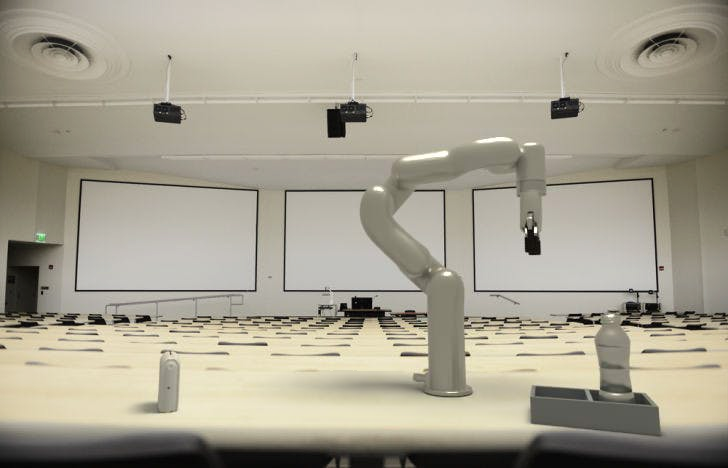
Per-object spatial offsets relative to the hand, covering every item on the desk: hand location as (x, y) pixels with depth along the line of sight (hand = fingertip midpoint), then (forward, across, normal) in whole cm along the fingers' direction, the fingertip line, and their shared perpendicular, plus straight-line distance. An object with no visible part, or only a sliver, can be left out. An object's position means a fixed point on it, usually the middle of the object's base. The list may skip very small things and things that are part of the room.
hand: (533, 253), depth 121 cm
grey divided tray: (+35, +22, +11) cm, 43 cm away
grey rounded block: (+37, +48, -75) cm, 97 cm away
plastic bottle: (+34, +19, +16) cm, 43 cm away
